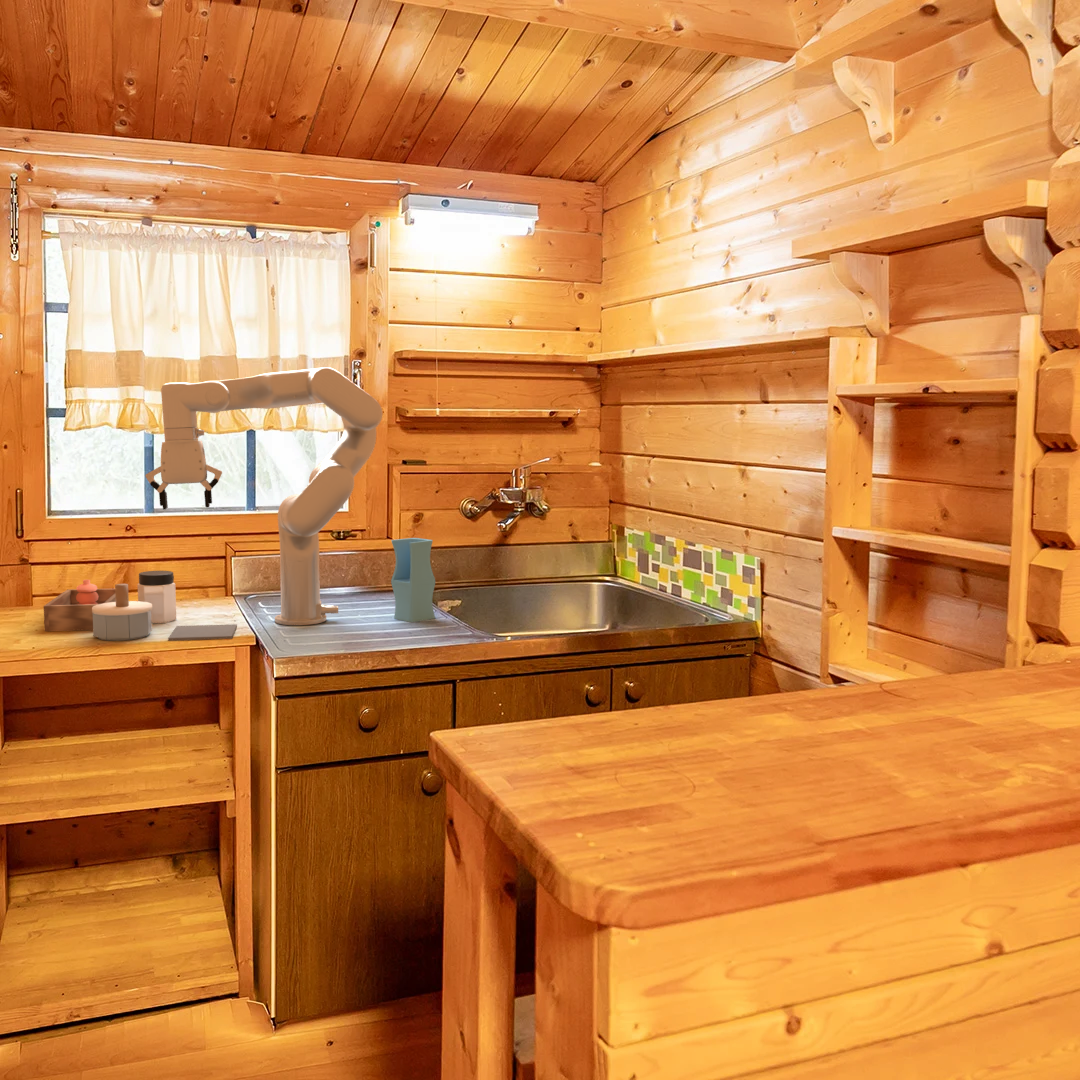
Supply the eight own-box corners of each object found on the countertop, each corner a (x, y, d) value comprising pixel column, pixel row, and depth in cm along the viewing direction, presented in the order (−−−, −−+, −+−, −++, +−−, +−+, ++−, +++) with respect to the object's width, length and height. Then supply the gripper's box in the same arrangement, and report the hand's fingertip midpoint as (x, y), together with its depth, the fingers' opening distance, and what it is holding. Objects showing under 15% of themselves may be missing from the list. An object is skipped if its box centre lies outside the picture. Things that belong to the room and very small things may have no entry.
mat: (236, 626, 266) (236, 624, 266) (231, 638, 252) (231, 636, 252) (176, 628, 263) (176, 625, 263) (168, 640, 250) (168, 637, 250)
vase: (391, 618, 279) (390, 540, 276) (415, 614, 284) (414, 537, 282) (411, 622, 273) (411, 542, 271) (435, 618, 279) (435, 540, 277)
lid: (156, 604, 261) (155, 579, 261) (147, 614, 249) (146, 588, 248) (98, 606, 259) (97, 580, 258) (86, 616, 246) (85, 589, 245)
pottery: (96, 629, 262) (94, 589, 261) (53, 631, 260) (52, 590, 259) (110, 615, 279) (109, 577, 278) (71, 616, 278) (69, 578, 276)
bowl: (154, 629, 261) (153, 605, 261) (145, 640, 250) (145, 614, 249) (101, 631, 259) (100, 606, 258) (90, 641, 247) (89, 615, 247)
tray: (125, 611, 285) (124, 588, 284) (107, 629, 261) (106, 604, 261) (68, 612, 282) (67, 589, 281) (44, 631, 259) (43, 606, 258)
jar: (180, 621, 272) (179, 573, 271) (147, 625, 267) (146, 576, 266) (167, 615, 279) (165, 569, 278) (135, 619, 274) (133, 572, 272)
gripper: (220, 433, 263) (225, 504, 266) (145, 436, 260) (150, 508, 262) (217, 434, 256) (222, 507, 258) (140, 437, 253) (145, 511, 255)
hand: (186, 507), depth 260 cm, fingers open, 9 cm apart
